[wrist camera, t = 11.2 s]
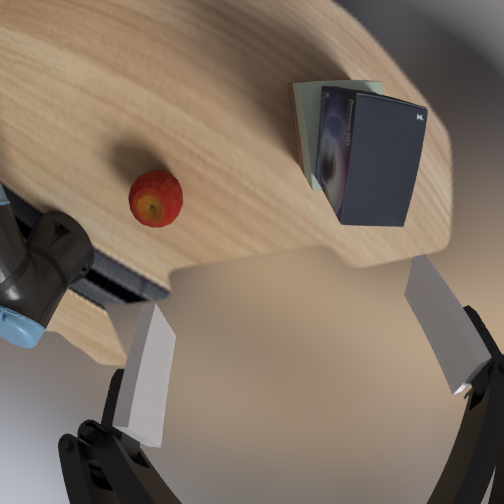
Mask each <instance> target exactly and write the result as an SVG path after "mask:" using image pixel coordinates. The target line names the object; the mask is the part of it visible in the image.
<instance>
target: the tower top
mask: <svg viewBox="0 0 504 504" xmlns="http://www.w3.org/2000/svg"><path fill="white" fill-rule="evenodd" d="M292 84H293V90H294V96H295V103H296V110H297V117H298V124H299V131H300V139H301V147H302V156H303V164H304V174H305V177H306V179H307V181H308V183H309V185H310V186H311V188H312V190H313V191H314V190H322V188H321V187H320V185H319V183H318V181H317V180H316V178H315V171H316V160H317V148H318V136H319V123H320V107H321V89H322V86H336V87H341V88H348V89H355V90H363V91H366V92H375V93H377V94H381V95H383V89H382V82H378V81H369V80H332V81H313V82H301V83H292Z"/></svg>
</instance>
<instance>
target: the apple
mask: <svg viewBox="0 0 504 504" xmlns="http://www.w3.org/2000/svg"><path fill="white" fill-rule="evenodd" d="M128 199H129V205H130V210H131V212H132V213H133V215H134V217H135V218H136V219H137V220H138V221H139V222H140V223H141V224H143V225H146V226H149V227H163V226H166V225H169V224H171V223H172V222H173V221H174V220H175V219H176V217H177V216H178V215H179V212H180V210H181V207H182V205H183V194H182V189H181V186H180V184H179V182H178V180H177V179H176V178H175V177H174V176H173V175H172V174H170V173H167V172H163V171H153V172H148V173H145V174H143V175H141V176H139V177H138V178H137V180H136V181H135V182H134V183H133V185H132V186H131V189H130V193H129V198H128Z"/></svg>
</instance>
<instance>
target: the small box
mask: <svg viewBox="0 0 504 504" xmlns="http://www.w3.org/2000/svg"><path fill="white" fill-rule="evenodd" d="M427 114H428V110H427V108H426V107H423V106H419V105H416V104H413V103H410V102H406V101H403V100H400V99H396V98H393V97H389V96H385V95H381V94H377V93H375V92H366V91H363V90H355V89H348V88H341V87H336V86H322V89H321V107H320V123H319V136H318V148H317V160H316V171H315V178H316V180H317V181H318V183H319V185H320V187H321V188H322V190H323V192H324V194H325V195H326V197H327V199H328V201H329V203H330V205H331V207H332V208H333V210H334V212H335V214H336V216H337V218H338V220H339V222H340V224H341V225H358V226H393V227H403V226H404V222H405V219H406V215H407V212H408V208H409V205H410V201H411V197H412V193H413V189H414V185H415V180H416V176H417V171H418V167H419V162H420V157H421V152H422V146H423V141H424V135H425V128H426V121H427Z"/></svg>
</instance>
